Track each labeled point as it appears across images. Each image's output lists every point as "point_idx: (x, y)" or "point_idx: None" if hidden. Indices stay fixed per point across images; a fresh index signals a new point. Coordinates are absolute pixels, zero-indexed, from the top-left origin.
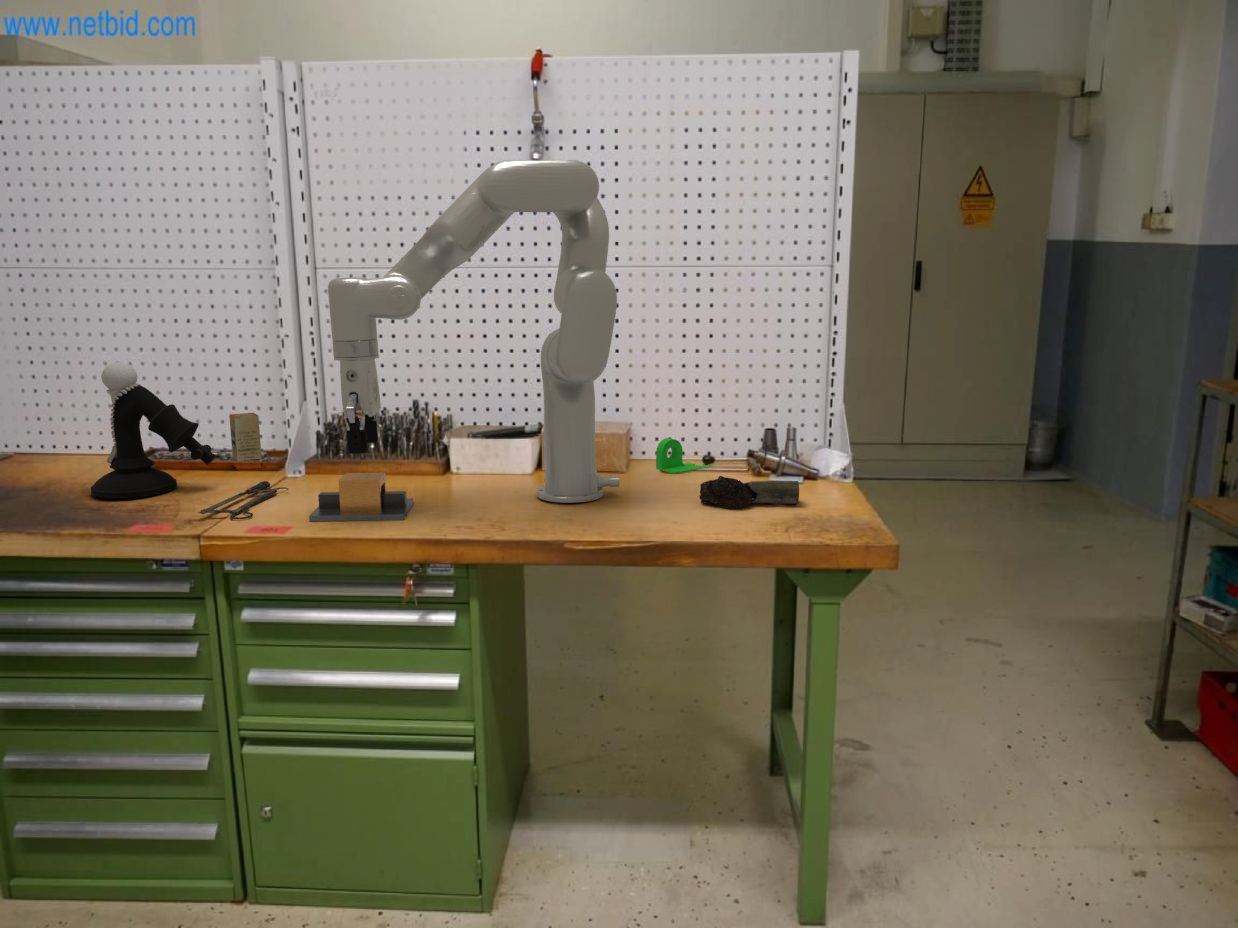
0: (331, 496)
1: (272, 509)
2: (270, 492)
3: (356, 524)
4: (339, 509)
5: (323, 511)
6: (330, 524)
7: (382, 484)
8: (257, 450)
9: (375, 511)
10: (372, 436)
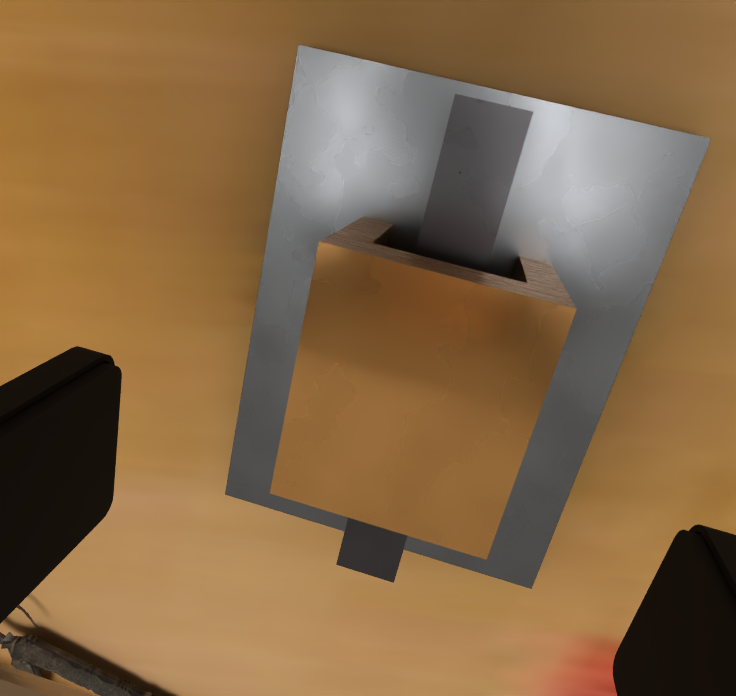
0: None
1: (268, 663)
2: (58, 662)
3: (677, 392)
4: None
5: None
6: (621, 499)
7: (461, 266)
8: None
9: None
10: (82, 427)
